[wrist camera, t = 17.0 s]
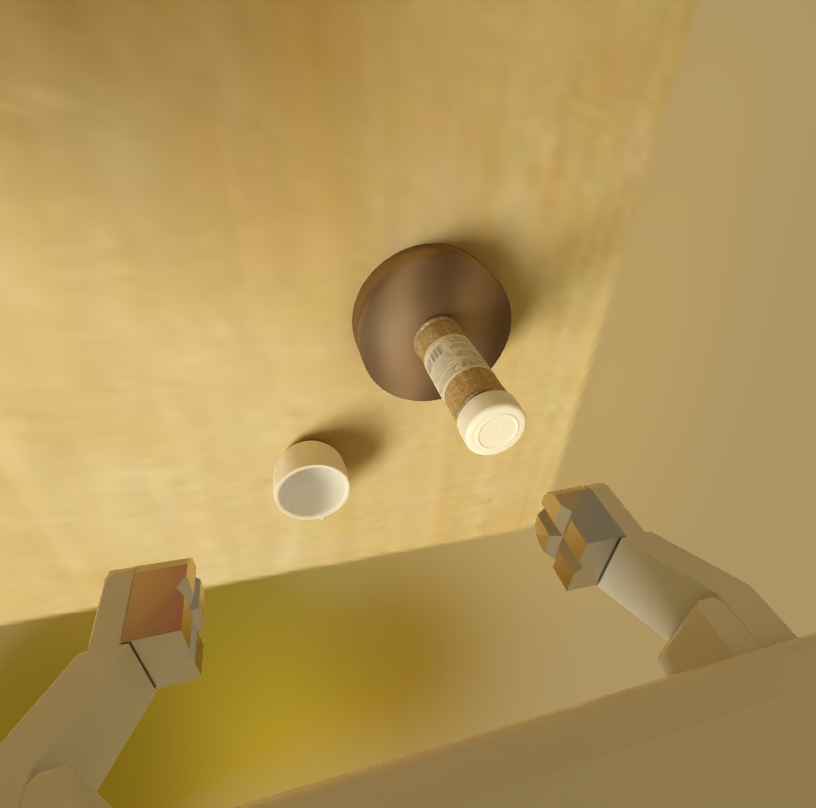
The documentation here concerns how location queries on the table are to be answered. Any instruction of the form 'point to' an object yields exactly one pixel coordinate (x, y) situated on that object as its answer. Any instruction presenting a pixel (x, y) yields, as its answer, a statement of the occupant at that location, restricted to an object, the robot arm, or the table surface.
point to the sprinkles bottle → (469, 387)
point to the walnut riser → (425, 314)
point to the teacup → (310, 481)
